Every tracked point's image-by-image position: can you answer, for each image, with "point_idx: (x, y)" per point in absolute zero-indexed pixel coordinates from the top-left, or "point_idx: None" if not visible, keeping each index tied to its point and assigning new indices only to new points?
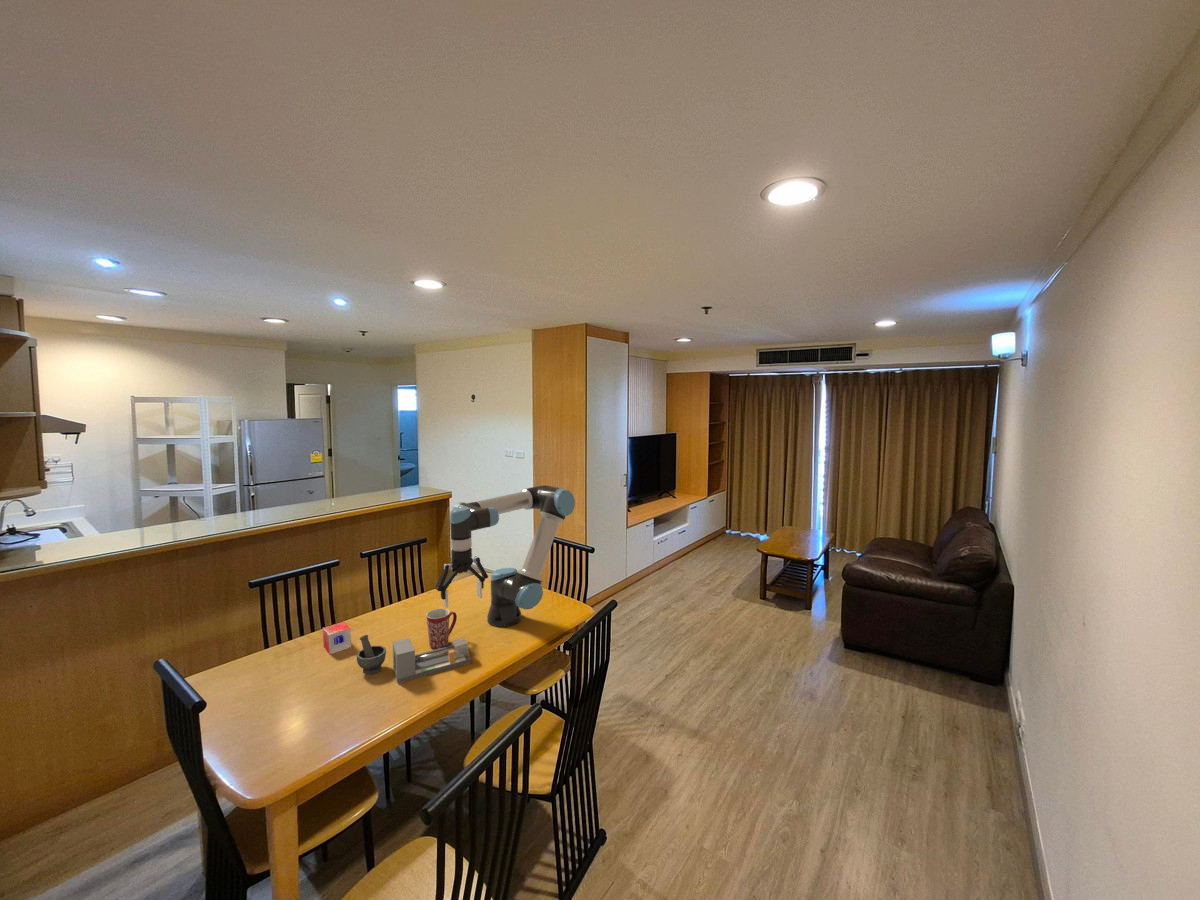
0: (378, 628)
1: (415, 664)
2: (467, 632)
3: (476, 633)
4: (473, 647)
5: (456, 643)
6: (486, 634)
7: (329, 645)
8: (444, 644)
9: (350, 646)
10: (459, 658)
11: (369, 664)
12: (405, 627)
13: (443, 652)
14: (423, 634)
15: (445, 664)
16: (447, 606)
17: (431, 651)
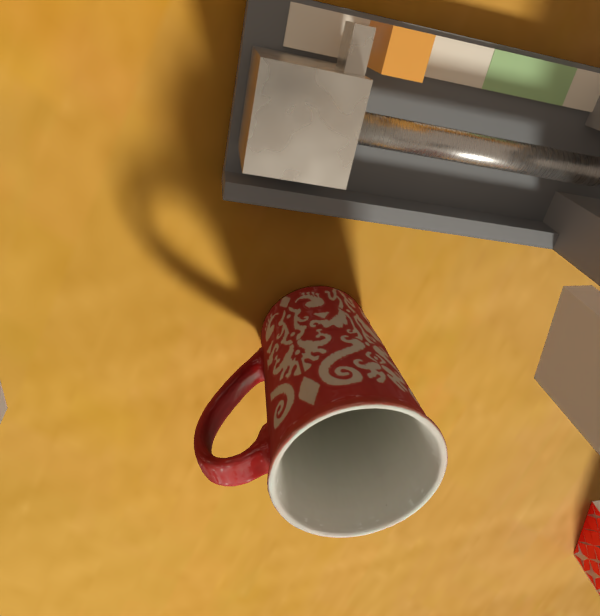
0: (444, 578)
1: (542, 182)
2: (117, 368)
3: (70, 330)
4: (152, 181)
5: (337, 122)
6: (10, 284)
7: None
8: (306, 295)
9: (595, 504)
10: None
11: None
12: (359, 545)
13: (423, 126)
14: None
15: None
16: (590, 296)
17: (444, 220)
